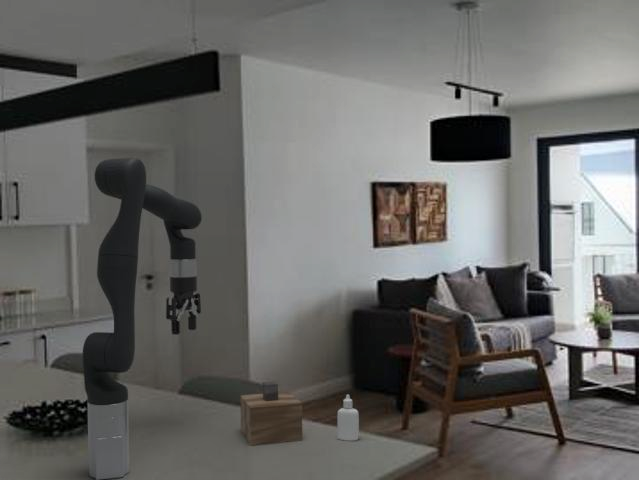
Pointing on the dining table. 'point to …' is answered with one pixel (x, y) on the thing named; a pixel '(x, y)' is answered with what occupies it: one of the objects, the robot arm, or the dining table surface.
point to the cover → (271, 416)
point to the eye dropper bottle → (348, 421)
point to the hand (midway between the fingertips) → (184, 331)
